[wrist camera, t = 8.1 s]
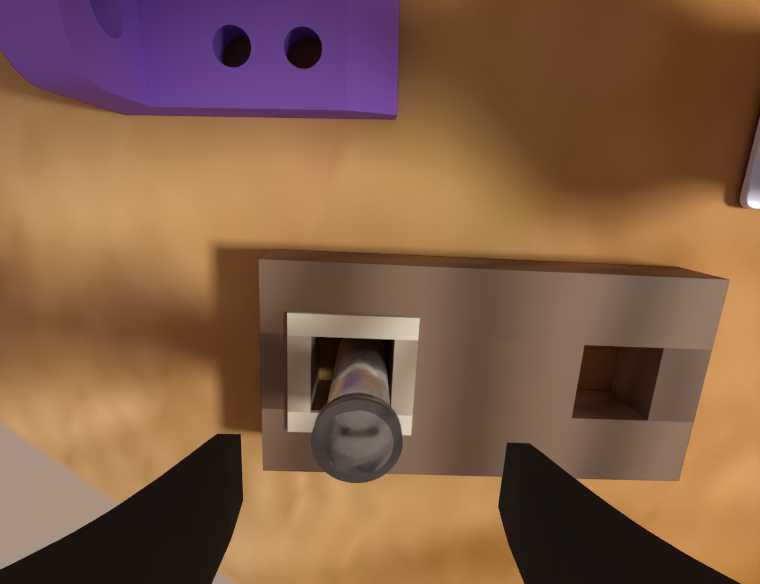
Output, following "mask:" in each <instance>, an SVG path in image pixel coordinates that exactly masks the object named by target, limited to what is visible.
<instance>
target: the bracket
mask: <svg viewBox="0 0 760 584" xmlns="http://www.w3.org/2000/svg"><path fill="white" fill-rule="evenodd" d="M399 2H400V0H0V49H1V50H2V52H3V54H4V55H5V57H6V58H7V60H8V61H9V62H10V64H11V65H12V66H13V67H14V68H15V70H16V71H17V72H18V73H19V74H20V75H21V76H22V77H23V78H24V79H26V80H27V81H28V82H30V83H31V84H33V85H34V86H36V87H38V88H40V89H43V90H46V91H49V92H53V93H56V94H59V95H62V96H66V97H69V98H72V99H75V100H79V101H82V102H85V103H89V104H92V105H95V106H98V107H102V108H105V109H108V110H111V111H115V112H118V113H121V114H124V115H157V116H215V117H273V118H331V119H389V120H395V119H396V117H397V97H398V49H399ZM240 36H248V37H249V39H250V42H251V54H250V56H249V58H248V60H247V61H246V62H245V63H244V64H243V65H241V66H239V67H228V66H225V65H224V64H223V56H224V51H225V49H226V47H227V45H228V44H229V43H230V42H231V41H232V40H233V39H235V38H237V37H240ZM306 37H312V38H316V39H319V40H321V43H322V54H321V57H320V59H319V61H318V62H317V63H316V64H315V65H314V66H313V67H311V68H308V69H300V68H297V67H295V66H293V65H292V64H291V63H290V62H289V61H288V59H287V55H288V52H289V50H290V48H291V47H292V45H293V44H294V43H295V42H296V41H298V40H300V39H302V38H306Z"/></svg>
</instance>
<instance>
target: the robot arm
mask: <svg viewBox="0 0 760 584" xmlns="http://www.w3.org/2000/svg"><path fill="white" fill-rule="evenodd" d="M740 204H741V206H743V207H744V208H747V209H760V118H759V122H758V126H757V130H756V134H755V139H754V143H753V147H752V151H751V155H750V159H749V163H748V167H747V171H746V175H745V179H744V183H743V187H742V191H741V195H740ZM242 502H243V486H242V459H241V434H217V435H215V436H214V437H212V438H211V439H209V440H208V441H207V442H205V443H204V444H203V445H202V446H200V447H199V448H198V449H196V450H195V451H194V452H192V453H191V454H190V455H188V456H187V457H186V458H184V459H183V460H182V461H180V462H179V463H178V464H176V465H175V466H174V467H172V468H171V469H170V470H168V471H167V472H166V473H164V474H163V475H162V476H160V477H159V478H158V479H156V480H155V481H153V482H152V483H150V484H149V485H147V486H146V487H144V488H143V489H141V490H140V491H139V492H137V493H136V494H134V495H133V496H131V497H130V498H128V499H127V500H125V501H124V502H122V503H121V504H119V505H118V506H116V507H115V508H113V509H112V510H110V511H109V512H107V513H105V514H104V515H102V516H100V517H99V518H97V519H96V520H94V521H92V522H90V523H88V524H87V525H85V526H83V527H81V528H80V529H78V530H76V531H75V532H73V533H71V534H69V535H67V536H66V537H64V538H62V539H60V540H59V541H56V542H54V543H52V544H50V545H48V546H46V547H45V548H42V549H41V550H38V551H37V552H35V553H33V554H31V555H29V556H27V557H25V558H23V559H21V560H19V561H17V562H15V563H13V564H11V565H9V566H7V567H5V568H3V569H0V584H212V582H213V579H214V577H215V575H216V572H217V570H218V568H219V566H220V563H221V561H222V559H223V556H224V554H225V552H226V550H227V547H228V545H229V542H230V540H231V538H232V534H233V531H234V528H235V525H236V522H237V519H238V515H239V512H240V508H241V505H242ZM498 507H499V511H500V515H501V519H502V522H503V526H504V530H505V533H506V537H507V540H508V544H509V546H510V549H511V552H512V554H513V557H514V559H515V562H516V564H517V567H518V569H519V572H520V574H521V576H522V579H523V581H524V584H740V583H738V582H736V581H735V580H733V579H731V578H729V577H727V576H725V575H723V574H721V573H720V572H718V571H716V570H714V569H712V568H710V567H708V566H707V565H705V564H703V563H701V562H699V561H697V560H696V559H694V558H692V557H690V556H689V555H687V554H685V553H683V552H682V551H680V550H678V549H677V548H675V547H673V546H672V545H670V544H669V543H667V542H665V541H664V540H662V539H660V538H659V537H657V536H656V535H654V534H652V533H651V532H649V531H647V530H646V529H644V528H643V527H641V526H640V525H638V524H637V523H635V522H634V521H632V520H631V519H629V518H628V517H627V516H625V515H624V514H622V513H621V512H619V511H618V510H617V509H615V508H614V507H612V506H611V505H609V504H608V503H607V502H605V501H604V500H603V499H601V498H600V497H599V496H597V495H596V494H595V493H593V492H592V491H591V490H589V489H588V488H587V487H585V486H584V485H583V484H581V483H580V482H579V481H578V480H576V479H575V478H574V477H572V476H571V475H570V474H569V473H567V472H566V471H565V470H564V469H562V468H561V467H560V466H559V465H557V464H556V463H555V462H554V461H552V460H551V459H550V458H548V457H547V456H546V455H545V454H543V453H542V452H541V451H539V450H538V449H537V448H535V447H534V446H533V445H531V444H530V443H508V442H507V446H506V453H505V461H504V468H503V475H502V483H501V490H500V497H499V505H498Z"/></svg>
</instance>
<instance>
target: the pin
mask: <svg viewBox="0 0 760 584" xmlns="http://www.w3.org/2000/svg"><path fill="white" fill-rule="evenodd" d="M402 446H403V439H402V430H401V424H400V421H399V418H398V416H397V414H396V412H395V411H394V410H393V408H392V407H391V406H390V399H389V388H388V378H387V367H386V357H385V347H384V344H383V341H382V340H381V339H366V338H342V340H341V341H340V344H339V347H338V352H337V357H336V363H335V368H334V373H333V378H332V383H331V388H330V393H329V398H328V403H327V404H326V405H325V406H324V407H323V408H322V409H321V411H320V412H319V413H318V415H317V417H316V420H315V423H314V427H313V431H312V436H311V449H312V453H313V456H314V458H315V460H316V462H317V463H318V465H319V466H320V467H321V468H322V469H323V470H324V471H325V472H326V473H327V474H329V475H330V476H332V477H334V478H336V479H338V480H341V481H345V482H351V483H363V482H369V481H372V480H375V479H377V478H380V477H381V476H383V475H385V474H386V473H387V472H389V471H390V470H391V469H392V468H393V467H394V465H395V464H396V463H397V461H398V459H399V457H400V455H401V451H402Z"/></svg>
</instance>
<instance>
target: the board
mask: <svg viewBox="0 0 760 584" xmlns="http://www.w3.org/2000/svg"><path fill="white" fill-rule="evenodd" d="M258 260H259V307H260V354H261V400H262V447H263V470H265V471H304V472H325V471H324V470H323V469H322V468H321V467H320V466H319V465H318V463H317V462H316V460H315V458H314V456H313V453H312V449H311V436H312V431H313V427H314V423H315V420H316V417H317V415H318V413H319V412H320V411H321V409H322V408H323V407H324V406H325V405H326V404H327V403H328V398H329V393H330V388H331V383H332V381H319V337H339V338H366V339H390V348H389V366H388V388H389V399H390V406H391V407H392V408H393V410H394V411H395V412H396V414H397V416H398V418H399V421H400V424H401V430H402V439H403V446H402V451H401V455H400V457H399V459H398V461H397V463H396V464H395V465H394V467H393V468H392V469H391V470H390V471H389V472H387V473H386V474H419V475H458V476H496V477H502V475H503V468H504V461H505V453H506V446H507V442H508V443H530V444H531V445H533V446H534V447H535V448H537V449H538V450H539V451H541V452H542V453H543V454H545V455H546V456H547V457H548V458H550V459H551V460H552V461H554V462H555V463H556V464H557V465H559V466H560V467H561V468H562V469H564V470H565V471H566V472H567V473H569V474H570V475H571V476H572V477H574V478H575V479H612V480H650V481H679V478H680V474H681V470H682V466H683V462H684V458H685V454H686V450H687V446H688V443H689V439H690V435H691V431H692V427H693V423H694V419H695V415H696V411H697V407H698V403H699V399H700V395H701V391H702V387H703V383H704V379H705V376H706V372H707V368H708V364H709V360H710V356H711V352H712V348H713V344H714V340H715V336H716V332H717V328H718V324H719V320H720V316H721V313H722V309H723V305H724V301H725V297H726V293H727V289H728V285H729V281H730V280H729V279H725V278H721V277H717V276H712V275H708V274H704V273H700V272H696V271H692V270H688V269H684V268H680V267H663V266H640V265H618V264H595V263H573V262H550V261H528V260H506V259H483V258H461V257H438V256H416V255H393V254H371V253H348V252H326V251H303V250H281V249H274V250H273V251H271V252H269V253H268V254H266V255H265V256H263V257H261V258H260V259H258ZM584 345H596V346H620V348H619V353H618V358H617V363H616V368H615V373H614V378H613V383H612V388H611V390H583V389H577V385H578V379H579V374H580V368H581V362H582V357H583V351H584Z"/></svg>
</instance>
